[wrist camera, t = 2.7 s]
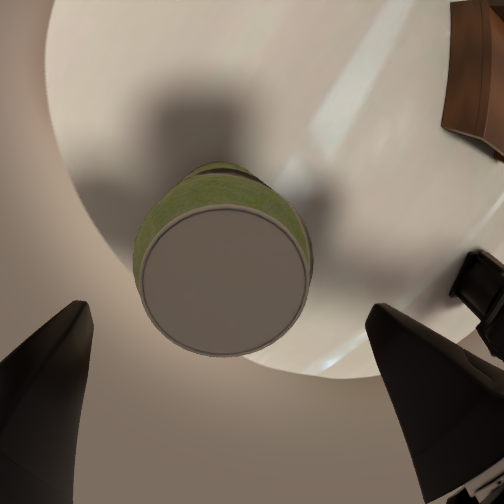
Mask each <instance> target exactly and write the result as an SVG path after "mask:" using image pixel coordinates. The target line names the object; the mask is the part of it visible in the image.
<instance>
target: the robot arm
mask: <svg viewBox="0 0 504 504" xmlns="http://www.w3.org/2000/svg"><path fill="white" fill-rule="evenodd" d="M449 296H450V297H451V298H456V297H458V298H459V299H460V300H461V301H462V302H463V303H464V304H465V305H466V306H467V307H468V308H469V309H470V310H471V311H472V312H473V313H474V314H475V315H476V316H477V317H478V318H479V319H480V320H481V322H480V323H479V324H478V325H477V327H476V329H477V331H478V334H479V335H480V337H481V338H482V340H483V341H484V343H485V344H486V346H487V347H488V349H489V351H490V353H491V355H492V356H493V357H498V358H499V359H501V360H503V362H504V264H502V263H501V262H500V261H499V260H497V259H496V258H495V257H493V256H492V255H491V254H490V253H488V252H479V253H474V252H470V253H469V254H468V256H467V258H466V260H465V263H464V265H463V267H462V269H461V271H460V274H459V276H458V278H457V280H456V282H455V284H454V286H453V288H452V290H451V292H450V294H449ZM365 329H366V332H367V335H368V338H369V341H370V344H371V347H372V351H373V354H374V357H375V360H376V363H377V366H378V369H379V371H380V373H381V376H382V378H383V381H384V383H385V386H386V388H387V391H388V393H389V396H390V399H391V401H392V404H393V406H394V409H395V412H396V415H397V417H398V420H399V423H400V425H401V428H402V431H403V434H404V437H405V440H406V443H407V446H408V449H409V452H410V455H411V458H412V461H413V465H414V468H415V471H416V474H417V477H418V481H419V484H420V488H421V491H422V495H423V499H424V502H425V504H427V503H429V502H431V501H434V500H436V499H437V498H440V497H442V496H444V495H445V494H447V493H449V492H451V491H453V490H455V489H456V488H458V487H460V486H462V485H464V487H462V488H461V489H460V490H459V491H457V492H456V493H455V494H453V496H451V497H450V498H448V499H447V503H446V504H504V371H503V370H501V369H500V368H498V367H496V366H494V365H492V364H490V363H488V362H486V361H484V360H483V359H481V358H479V357H477V356H475V355H474V354H472V353H470V352H469V351H467V350H465V349H463V348H462V347H460V346H459V345H457V344H455V343H453V342H452V341H450V340H448V339H447V338H445V337H443V336H442V335H440V334H438V333H436V332H435V331H433V330H431V329H430V328H428V327H426V326H424V325H423V324H421V323H419V322H417V321H416V320H414V319H412V318H411V317H409V316H407V315H405V314H404V313H402V312H400V311H398V310H397V309H395V308H393V307H391V306H390V305H388V304H386V303H377V304H375V305H374V306H373V307H372V309H371V311H370V313H369V316H368V318H367V320H366V322H365ZM93 330H94V325H93V320H92V316H91V312H90V308H89V305H88V303H87V302H86V301H78V300H76V301H73V302H71V303H70V304H69V305H68V306H66V307H65V308H64V309H63V310H61V311H60V312H59V313H58V314H56V315H55V316H54V317H52V318H51V319H50V320H49V321H48V322H46V323H45V324H44V325H43V326H41V328H39V329H38V330H37V331H35V332H34V333H33V334H32V335H31V336H30V337H28V338H27V339H26V340H25V341H24V342H23V343H21V345H19V346H18V347H17V348H16V349H15V350H13V351H12V352H11V353H10V354H9V355H8V356H7V357H6V358H4V359H3V360H2V361H1V362H0V504H73V482H74V465H75V455H76V445H77V436H78V428H79V422H80V415H81V409H82V404H83V398H84V393H85V387H86V382H87V377H88V370H89V361H90V352H91V345H92V337H93Z"/></svg>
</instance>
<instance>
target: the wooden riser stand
mask: <svg viewBox="0 0 504 504" xmlns="http://www.w3.org/2000/svg"><path fill="white" fill-rule="evenodd" d="M441 126H442V127H444V128H446V129H447V130H450V131H453V132H457V133H461V134H464V135H467V136H471V137H474V138H477V139H480V140H482V141H484V142H485V143H487V144H488V145H489V146H491V147H492V148H494V149H495V155H494V159H496V160H497V161H499V162H501V163H504V0H466V1H458V2H451V51H450V66H449V77H448V86H447V94H446V101H445V108H444V114H443V120H442V125H441Z"/></svg>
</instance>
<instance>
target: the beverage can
mask: <svg viewBox="0 0 504 504" xmlns="http://www.w3.org/2000/svg"><path fill="white" fill-rule="evenodd" d="M133 273H134V278H135V283H136V287H137V289H138V292H139V294H140V297H141V300H142V304H143V306H144V308H145V311H146V313H147V315H148V317H149V318H150V320H151V321H152V323H153V324H154V325H155V327H156V328H157V329H158V330H159V331H160V332H161V333H162V334H163V335H164V336H165V337H166V338H168V339H169V340H170V341H172V342H173V343H174V344H176V345H178V346H180V347H182V348H184V349H185V350H188V351H191V352H194V353H196V354H200V355H206V356H210V357H237V356H242V355H246V354H250V353H253V352H256V351H259V350H261V349H263V348H265V347H267V346H269V345H271V344H273V343H274V342H275V341H277V340H278V339H279V338H281V337H282V336H283V335H284V334H285V333H286V332H287V331H288V330H289V329H290V328H291V327H292V326H293V325H294V323H295V322H296V321H297V319H298V318H299V316H300V314H301V312H302V310H303V308H304V306H305V303H306V300H307V296H308V292H309V286H310V282H311V278H312V274H313V251H312V244H311V241H310V237H309V234H308V231H307V229H306V227H305V225H304V223H303V221H302V219H301V218H300V216H299V214H298V213H297V212H296V211H295V210H294V208H293V207H292V206H291V205H290V204H289V202H287V201H286V200H285V199H284V198H282V197H281V196H280V195H279V194H278V193H276V192H275V191H274V190H273V189H271V188H270V187H269V186H267V185H266V184H265V183H263V182H262V181H261V180H259V179H258V178H257V177H256V176H254V175H253V174H252V173H250V172H249V171H248V170H246V169H244V168H242V167H240V166H238V165H235V164H232V163H225V162H216V163H210V164H206V165H203V166H201V167H199V168H197V169H195V170H194V171H192V172H191V173H189V174H188V175H187V176H186V177H185V178H184V179H183V180H182V181H181V182H180V183H178V184H177V185H176V186H175V187H174V188H173V189H172V190H171V191H170V192H169V193H168V194H167V195H166V196H164V197H163V198H162V199H161V200H160V201H159V202H158V204H157V205H156V206H155V207H154V208H153V209H152V210H151V211H150V212H149V214H148V216H147V217H146V219H145V220H144V222H143V223H142V225H141V228H140V230H139V233H138V235H137V238H136V241H135V246H134V252H133Z"/></svg>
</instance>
